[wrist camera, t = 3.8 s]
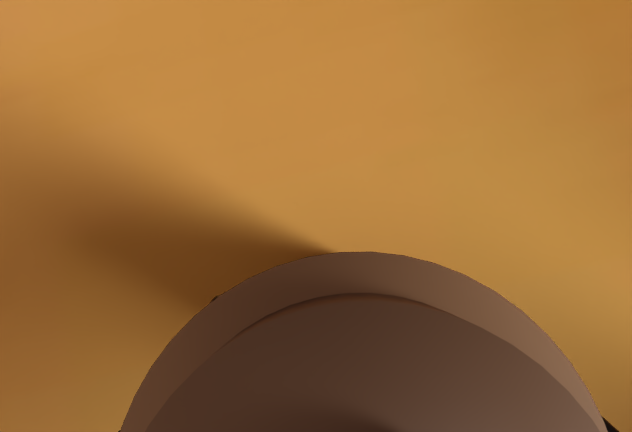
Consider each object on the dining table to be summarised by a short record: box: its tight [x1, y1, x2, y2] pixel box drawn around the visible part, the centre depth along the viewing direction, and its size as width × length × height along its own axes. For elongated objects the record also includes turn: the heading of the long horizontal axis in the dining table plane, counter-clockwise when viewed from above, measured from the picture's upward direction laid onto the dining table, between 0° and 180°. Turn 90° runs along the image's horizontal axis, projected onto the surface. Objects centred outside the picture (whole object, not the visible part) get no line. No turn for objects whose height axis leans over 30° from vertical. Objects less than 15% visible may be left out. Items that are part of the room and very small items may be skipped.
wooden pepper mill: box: [120, 252, 607, 432], centre depth 9 cm, size 5×5×15 cm
